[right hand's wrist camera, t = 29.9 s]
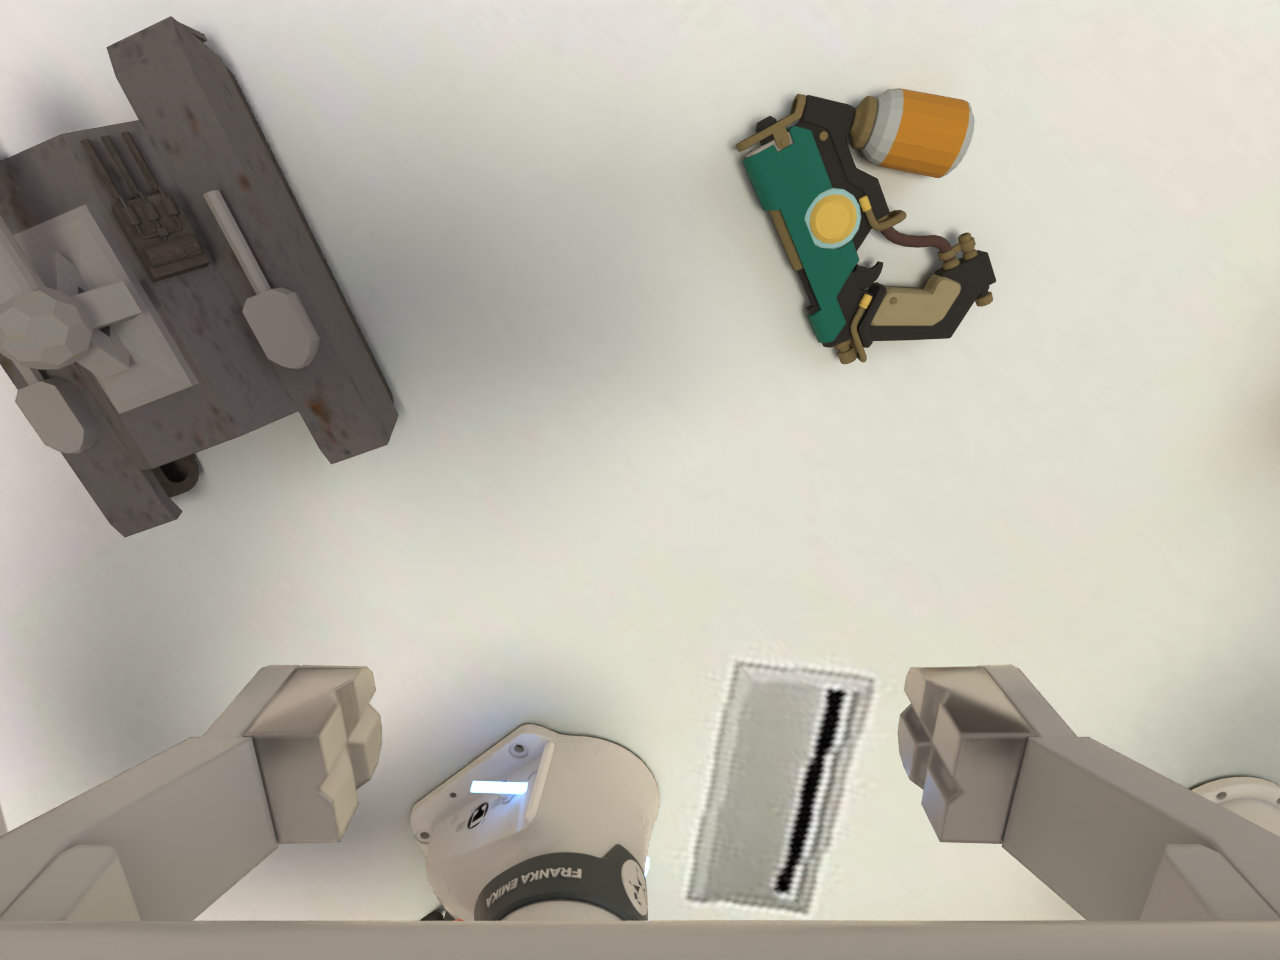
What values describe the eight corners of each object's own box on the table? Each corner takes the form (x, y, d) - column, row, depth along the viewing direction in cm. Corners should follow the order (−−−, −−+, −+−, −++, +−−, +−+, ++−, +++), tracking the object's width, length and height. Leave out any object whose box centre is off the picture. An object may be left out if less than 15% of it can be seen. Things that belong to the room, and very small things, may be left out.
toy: (411, 423, 50) (322, 503, 36) (171, 510, 52) (-2, 617, 38) (221, 37, 41) (7, -57, 27) (-55, 162, 44) (-383, 134, 30)
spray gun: (978, 328, 48) (763, 369, 50) (977, 54, 41) (728, 112, 43) (1006, 342, 44) (772, 387, 46) (1010, 43, 38) (735, 107, 39)
